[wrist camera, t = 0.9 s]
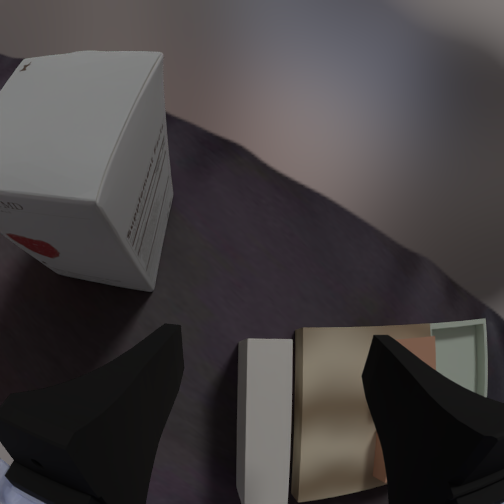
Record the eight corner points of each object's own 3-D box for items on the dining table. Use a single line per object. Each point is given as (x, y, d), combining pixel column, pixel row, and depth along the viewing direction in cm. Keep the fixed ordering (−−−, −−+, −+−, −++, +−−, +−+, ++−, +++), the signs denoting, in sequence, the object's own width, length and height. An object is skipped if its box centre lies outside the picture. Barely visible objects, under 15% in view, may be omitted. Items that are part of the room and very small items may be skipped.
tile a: (415, 463, 19) (429, 468, 18) (372, 476, 19) (384, 483, 17) (419, 417, 21) (434, 419, 19) (376, 427, 20) (390, 431, 18)
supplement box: (54, 276, 22) (-61, 189, 8) (83, 181, 25) (22, 54, 11) (155, 296, 23) (94, 207, 9) (176, 193, 26) (165, 46, 12)
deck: (412, 467, 21) (424, 471, 19) (290, 493, 19) (298, 502, 18) (416, 326, 26) (430, 323, 24) (295, 330, 24) (303, 327, 22)
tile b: (420, 389, 22) (435, 390, 20) (377, 397, 21) (391, 399, 19) (420, 338, 23) (435, 335, 21) (377, 341, 23) (391, 339, 21)
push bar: (271, 484, 20) (287, 509, 15) (236, 485, 19) (244, 512, 15) (274, 342, 24) (292, 339, 19) (238, 342, 23) (247, 338, 19)
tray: (472, 443, 22) (482, 444, 21) (412, 467, 21) (422, 470, 20) (475, 321, 27) (485, 318, 25) (416, 326, 26) (427, 323, 24)
